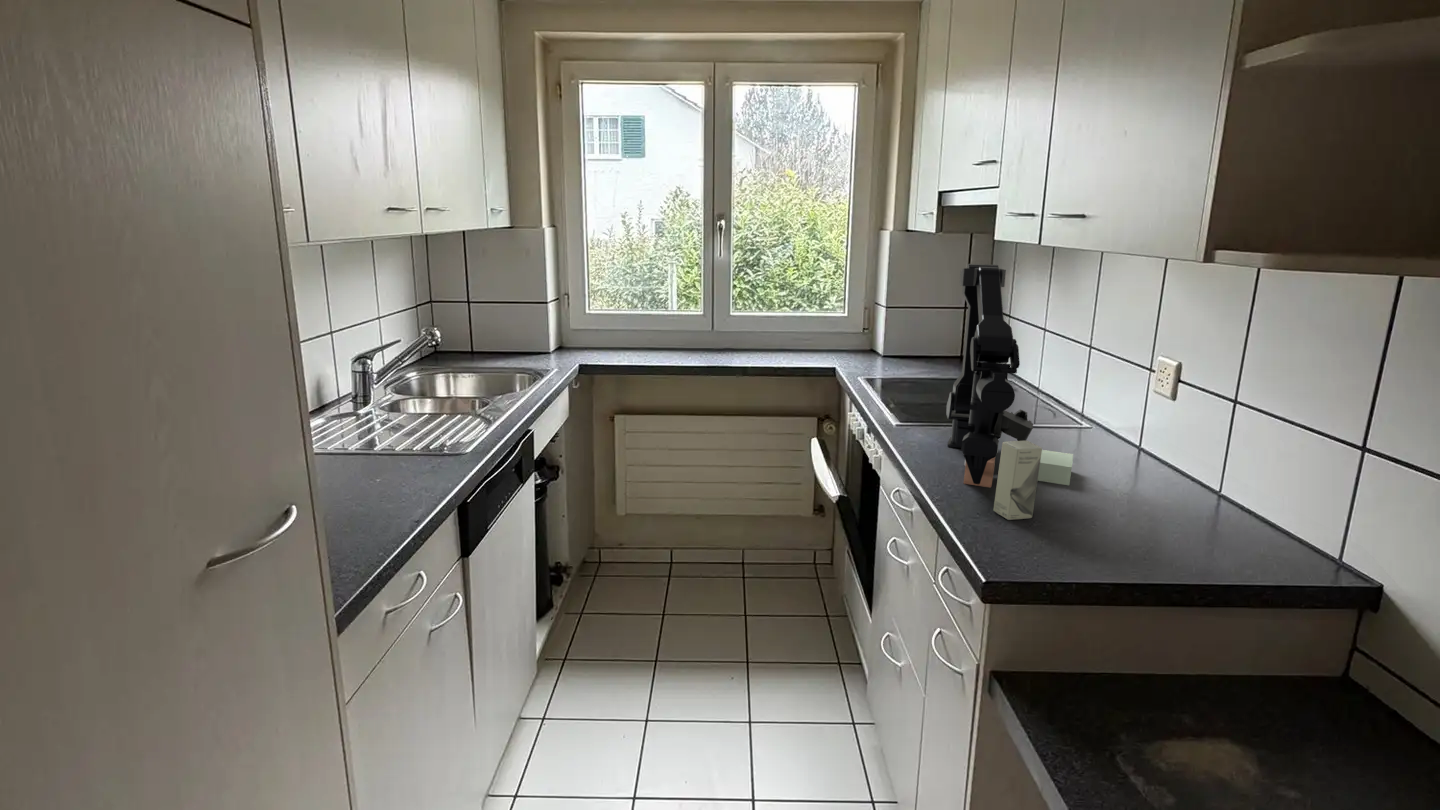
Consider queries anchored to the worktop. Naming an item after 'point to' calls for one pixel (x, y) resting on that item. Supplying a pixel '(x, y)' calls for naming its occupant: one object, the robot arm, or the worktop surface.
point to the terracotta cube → (986, 477)
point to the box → (1017, 479)
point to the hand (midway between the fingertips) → (978, 476)
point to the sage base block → (1055, 467)
